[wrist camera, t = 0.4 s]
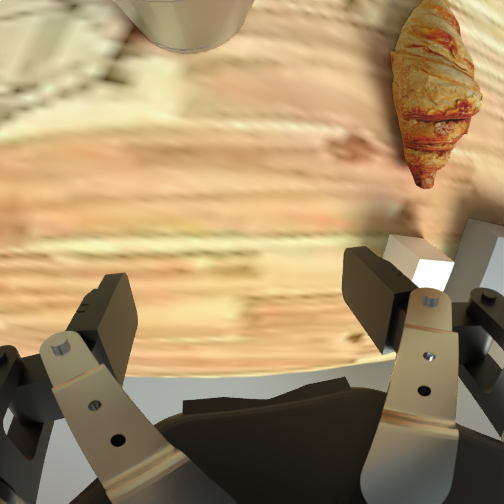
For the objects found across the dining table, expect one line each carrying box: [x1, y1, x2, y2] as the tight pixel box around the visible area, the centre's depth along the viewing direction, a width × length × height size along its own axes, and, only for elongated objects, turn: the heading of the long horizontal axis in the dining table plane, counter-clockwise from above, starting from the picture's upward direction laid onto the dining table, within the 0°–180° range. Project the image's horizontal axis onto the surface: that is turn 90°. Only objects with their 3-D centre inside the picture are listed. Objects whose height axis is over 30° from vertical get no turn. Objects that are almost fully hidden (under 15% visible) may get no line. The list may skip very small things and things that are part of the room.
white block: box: [383, 234, 455, 291], centre depth 31 cm, size 5×5×6 cm
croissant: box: [389, 0, 483, 189], centre depth 23 cm, size 21×10×8 cm, turn 176°
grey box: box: [443, 218, 504, 302], centre depth 34 cm, size 12×12×6 cm
